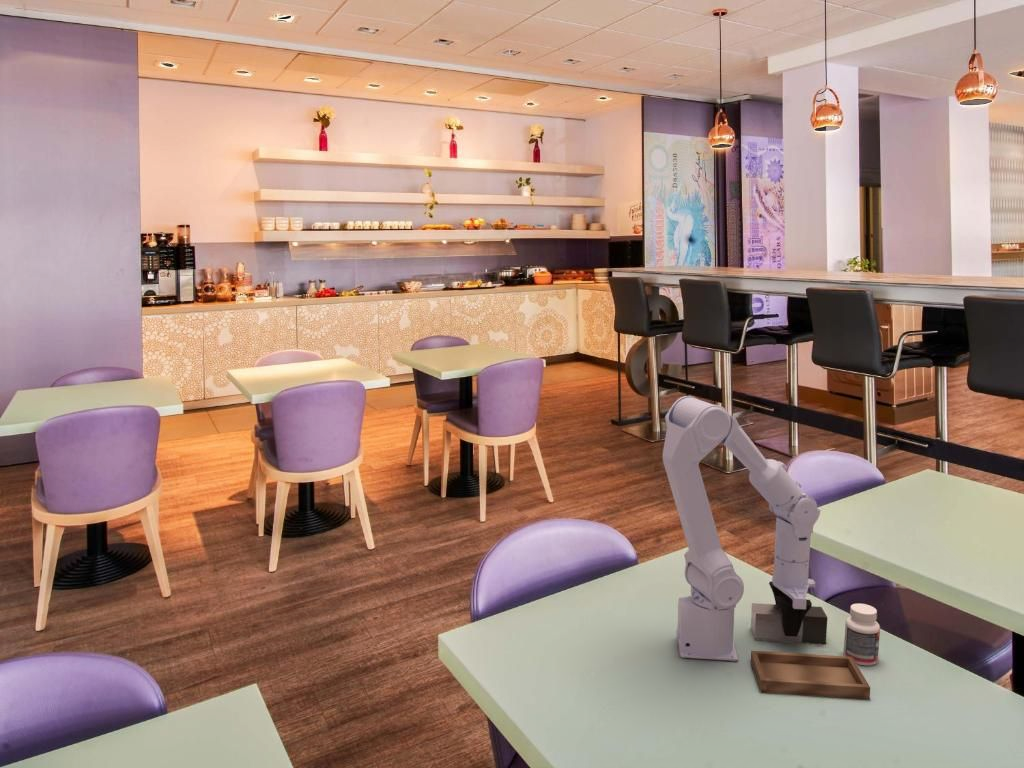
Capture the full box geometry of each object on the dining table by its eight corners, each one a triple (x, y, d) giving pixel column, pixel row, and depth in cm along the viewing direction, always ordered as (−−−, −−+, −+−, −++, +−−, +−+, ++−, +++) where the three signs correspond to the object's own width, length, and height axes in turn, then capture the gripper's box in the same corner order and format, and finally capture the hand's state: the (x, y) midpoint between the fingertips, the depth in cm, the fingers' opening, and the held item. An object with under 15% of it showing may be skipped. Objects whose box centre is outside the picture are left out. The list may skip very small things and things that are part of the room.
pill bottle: (881, 668, 121) (885, 617, 119) (847, 665, 122) (851, 614, 120) (872, 651, 126) (876, 602, 124) (840, 648, 127) (843, 600, 125)
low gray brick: (754, 639, 130) (755, 613, 129) (750, 628, 134) (751, 603, 133) (825, 644, 128) (827, 617, 127) (819, 632, 132) (821, 606, 131)
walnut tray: (760, 692, 114) (761, 680, 114) (750, 661, 123) (750, 650, 123) (869, 699, 112) (870, 687, 112) (851, 667, 121) (852, 656, 120)
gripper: (827, 574, 121) (822, 651, 123) (805, 542, 135) (801, 611, 137) (782, 572, 122) (778, 648, 124) (765, 540, 136) (762, 609, 138)
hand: (787, 629), depth 131 cm, fingers closed on low gray brick, 4 cm apart
